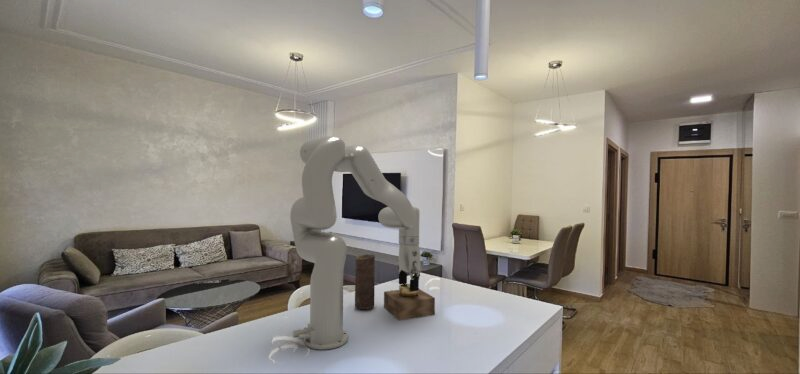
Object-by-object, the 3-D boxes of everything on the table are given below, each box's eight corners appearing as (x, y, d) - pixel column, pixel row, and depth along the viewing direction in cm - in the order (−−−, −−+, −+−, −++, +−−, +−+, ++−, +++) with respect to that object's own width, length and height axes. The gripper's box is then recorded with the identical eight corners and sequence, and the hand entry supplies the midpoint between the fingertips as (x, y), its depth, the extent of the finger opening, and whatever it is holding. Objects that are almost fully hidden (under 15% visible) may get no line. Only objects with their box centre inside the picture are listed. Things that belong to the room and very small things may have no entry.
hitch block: (398, 320, 119) (399, 302, 119) (383, 307, 131) (384, 291, 131) (434, 314, 124) (434, 297, 124) (417, 302, 137) (417, 287, 137)
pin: (403, 314, 123) (403, 290, 123) (395, 307, 130) (396, 285, 130) (421, 311, 126) (421, 287, 126) (412, 305, 133) (412, 283, 133)
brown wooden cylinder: (373, 312, 126) (373, 257, 127) (353, 311, 127) (353, 256, 127) (375, 305, 134) (375, 253, 134) (356, 304, 134) (356, 253, 134)
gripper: (429, 243, 122) (428, 292, 121) (408, 237, 137) (407, 280, 137) (409, 244, 119) (409, 294, 118) (390, 238, 134) (389, 282, 134)
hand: (408, 287), depth 128 cm, fingers open, 9 cm apart
